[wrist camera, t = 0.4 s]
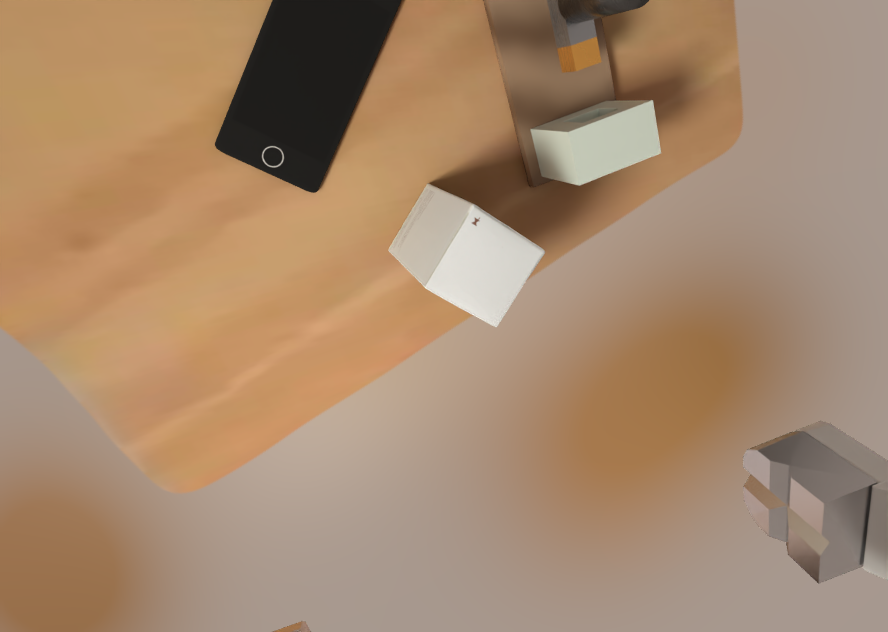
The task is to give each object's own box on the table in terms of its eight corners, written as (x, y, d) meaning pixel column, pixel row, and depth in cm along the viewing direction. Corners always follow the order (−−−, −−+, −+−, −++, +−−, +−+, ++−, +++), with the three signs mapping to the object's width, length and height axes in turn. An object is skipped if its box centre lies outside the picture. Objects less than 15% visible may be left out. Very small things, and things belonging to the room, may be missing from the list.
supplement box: (385, 250, 56) (420, 287, 44) (427, 180, 55) (474, 200, 44) (448, 287, 59) (496, 330, 47) (489, 222, 58) (548, 250, 47)
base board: (451, -129, 48) (455, -134, 47) (562, -161, 49) (568, -166, 48) (529, 185, 58) (534, 187, 57) (619, 150, 60) (625, 151, 59)
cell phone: (213, 147, 49) (212, 148, 48) (301, -71, 46) (302, -75, 46) (315, 193, 53) (316, 195, 52) (402, -7, 50) (405, -9, 49)
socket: (530, 129, 55) (568, 132, 49) (606, 100, 57) (652, 100, 50) (541, 176, 57) (579, 185, 50) (614, 147, 58) (661, 153, 52)
